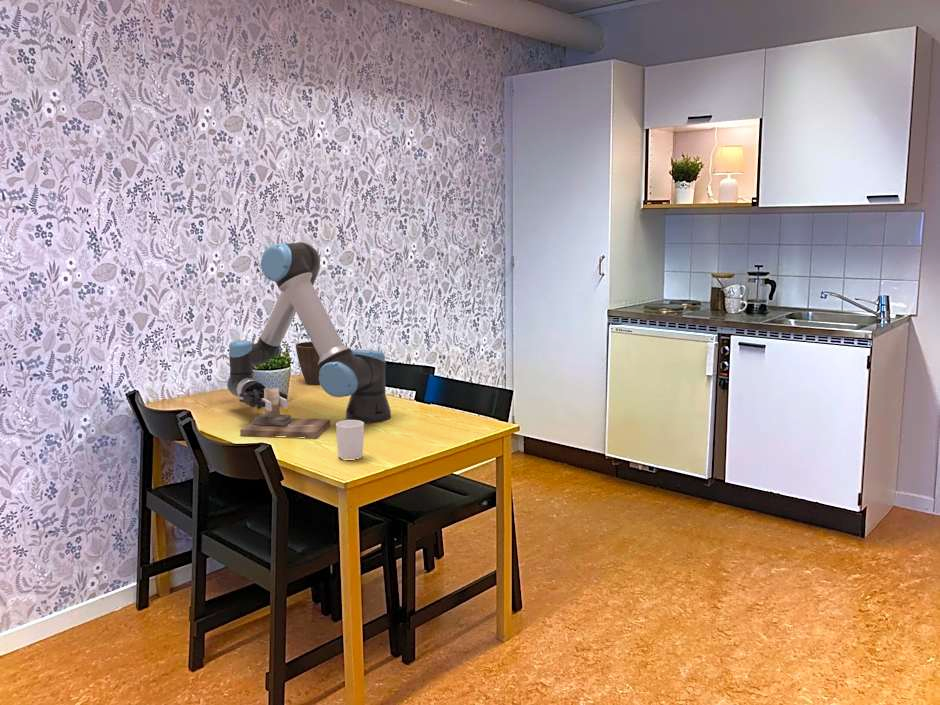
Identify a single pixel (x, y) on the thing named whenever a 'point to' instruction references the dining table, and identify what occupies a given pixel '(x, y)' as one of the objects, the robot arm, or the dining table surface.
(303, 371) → the plant pot
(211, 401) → the dining table surface
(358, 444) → the white cup
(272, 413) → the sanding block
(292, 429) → the walnut board
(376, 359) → the robot arm
